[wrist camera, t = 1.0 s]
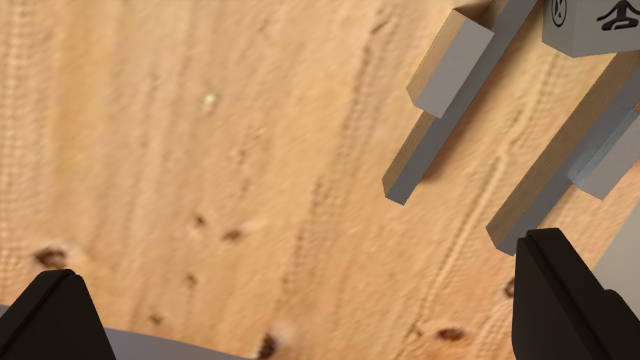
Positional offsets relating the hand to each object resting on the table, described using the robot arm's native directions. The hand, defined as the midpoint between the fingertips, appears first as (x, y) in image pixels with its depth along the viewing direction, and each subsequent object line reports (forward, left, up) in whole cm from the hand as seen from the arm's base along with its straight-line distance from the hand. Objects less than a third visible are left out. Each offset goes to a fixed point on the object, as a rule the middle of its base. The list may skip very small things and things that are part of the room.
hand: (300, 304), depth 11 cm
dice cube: (-11, +13, -27) cm, 32 cm away
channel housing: (-3, +14, -27) cm, 30 cm away
